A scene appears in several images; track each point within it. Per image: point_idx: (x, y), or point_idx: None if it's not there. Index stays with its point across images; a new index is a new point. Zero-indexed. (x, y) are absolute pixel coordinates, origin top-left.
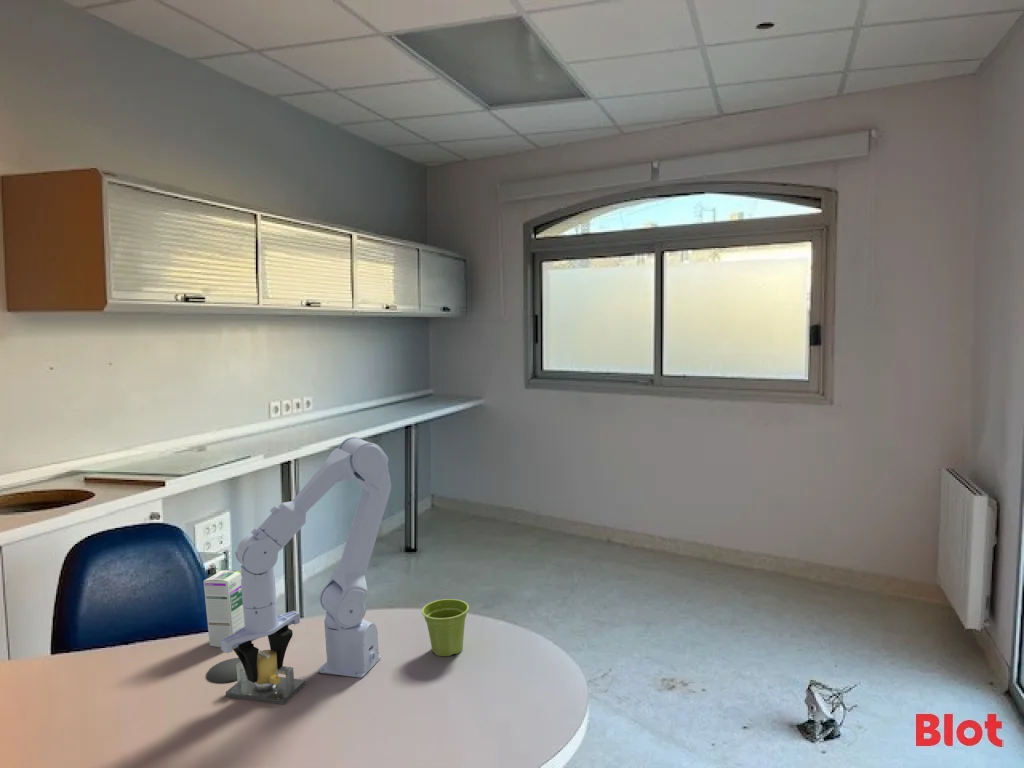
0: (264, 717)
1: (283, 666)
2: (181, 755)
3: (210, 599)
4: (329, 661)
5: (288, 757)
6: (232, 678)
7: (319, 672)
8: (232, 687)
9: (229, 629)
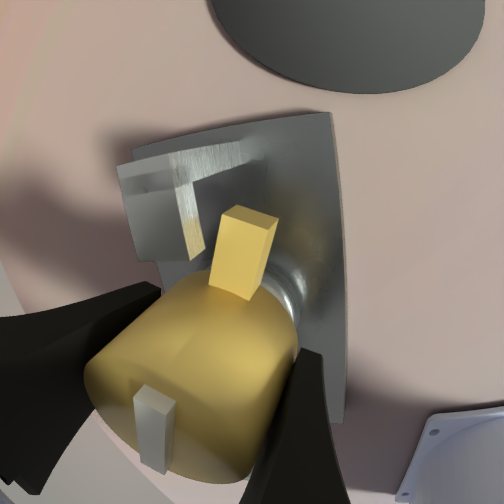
0: None
1: None
2: (5, 260)
3: None
4: (435, 473)
5: (109, 435)
6: (262, 41)
7: (426, 421)
8: (168, 145)
9: None
